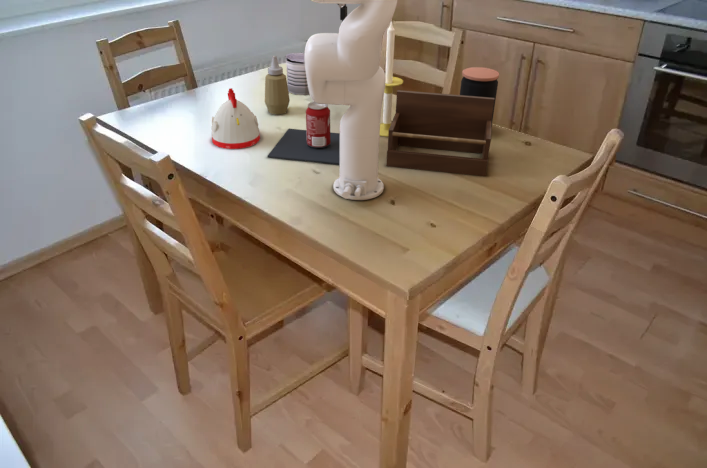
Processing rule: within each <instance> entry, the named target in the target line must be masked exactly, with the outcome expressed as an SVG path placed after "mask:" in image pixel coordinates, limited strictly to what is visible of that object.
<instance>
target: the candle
mask: <svg viewBox="0 0 707 468" xmlns="http://www.w3.org/2000/svg"><path fill="white" fill-rule="evenodd" d="M395 34H396V29H395V28H394V24H393V21H392V19H391V21H390V23H389V25H388V27H387V29H386V51H385V52H386V54H385V76H386V84H385V90H384V95H383V105H382V106H383V107H382V109H383V111H382V122H380V135H379V137H385V138H386V137H387V138H388V133H389V128H390V125H391V123H392V111H393V92H394V91H393V90H394V88H395V87H399V86H402V85H403V84H404V80H403V79H402V78H400V77H398V76H394V56H395V39H396V37H395V36H396V35H395Z"/></svg>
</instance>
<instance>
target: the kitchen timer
mask: <svg viewBox="0 0 707 468" xmlns="http://www.w3.org/2000/svg"><path fill="white" fill-rule="evenodd" d="M227 98H228V100H226V101H225V102H223V103H222V104H221V105H220V106H219V108H218V109H217V110H216V112H215V114H214V116H212V117H211V125H210V126H211V127H210V128H211V141H212V144H213V145H214V146H215V147H218V148H222V149H226V150H227V149H228V150H241V149H246V148H250V147H252V146H254V145H256V144H258V143H259V142H260V140H261V133H260V127H259V122H258V119H257V115H255V114H254V112H253V111H252V110H251V109H250V107H248V106H247V105H246V103H244V102H242V101H240V100H238V99H237V98H236V92H234V90H233V88H231V87H230V88H228V90H227Z"/></svg>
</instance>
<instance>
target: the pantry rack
mask: <svg viewBox="0 0 707 468" xmlns="http://www.w3.org/2000/svg"><path fill="white" fill-rule="evenodd" d="M493 106H494V98H489V97H476V96H464V95H460V94H450V93H437V92H423V91H412V90H402V89H401V90H400V89H397V90H396V100H395V113H394V114H393V115H394V116H393V118H392V119H391V125H390V128H389V133H388V137H387V150H386V165H385V167H391V168H401V169H411V170H421V171H429V172H439V173H448V174H449V173H450V174H459V175H460V174H461V175H469V176H480V177H486V176H487V170H488V162H489V154H490V148H491V142H492V127H491V119H492V112H493ZM398 147H408V148H409V147H411V148H421V149H432V150H441V151H442V150H443V151H452V152H453V151H454V152H463V153H464V152H465V153H473V154H481V158H479V157H469V156H460V155H459V156H458V155H450V154H440V153H439V154H438V153H427V152H418V151H407V150H397V149H398Z"/></svg>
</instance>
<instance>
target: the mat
mask: <svg viewBox="0 0 707 468" xmlns="http://www.w3.org/2000/svg"><path fill="white" fill-rule="evenodd" d="M267 158H268V159H277V160H287V161H295V162H305V163H316V164H324V165H334V166H340V132H331V131H330V145H329V146H327V147H325V148H321V149H316V148H312V147H310V146H309V145H307V133H306V129H299V128H298V129H297V128H288V129H287V130H286V131H285V133H284V134H283V135H282V136H281V138H280V139H279V140H278V142H277V143H276V144H275V146H274V147H273V148H272V149H271V151H270V152H269V153H268V154H267Z"/></svg>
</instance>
